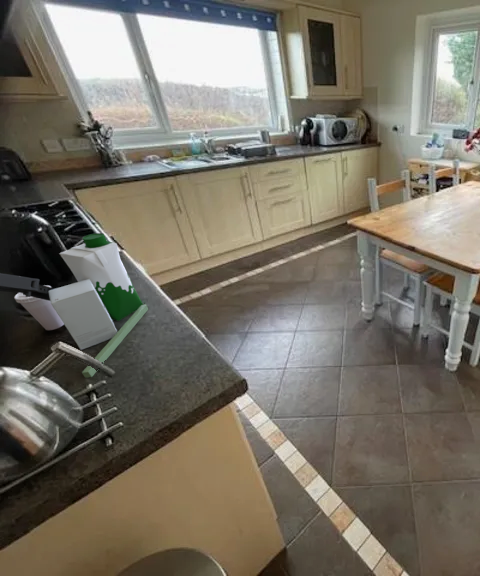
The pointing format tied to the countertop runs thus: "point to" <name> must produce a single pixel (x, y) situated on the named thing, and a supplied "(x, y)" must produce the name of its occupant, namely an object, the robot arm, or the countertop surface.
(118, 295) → the soya milk
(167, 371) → the countertop surface
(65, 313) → the white packaging box
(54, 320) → the smoothie
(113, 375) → the countertop surface
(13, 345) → the countertop surface
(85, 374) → the straightedge
